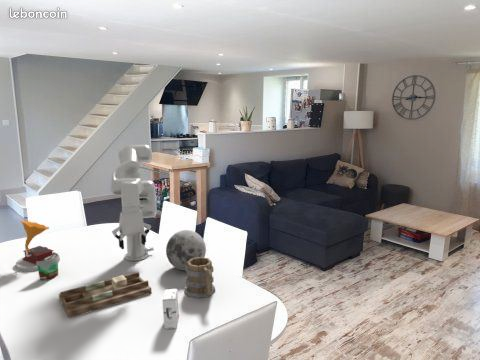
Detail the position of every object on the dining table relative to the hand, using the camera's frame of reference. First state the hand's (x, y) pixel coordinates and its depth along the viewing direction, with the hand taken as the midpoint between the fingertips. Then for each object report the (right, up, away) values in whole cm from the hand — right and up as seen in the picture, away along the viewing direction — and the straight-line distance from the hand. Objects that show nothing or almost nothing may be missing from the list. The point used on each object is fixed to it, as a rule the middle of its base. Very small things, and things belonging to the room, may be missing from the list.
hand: (132, 246), depth 165 cm
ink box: (+22, -25, -25) cm, 41 cm away
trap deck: (-10, -21, -5) cm, 24 cm away
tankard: (+32, -21, -3) cm, 38 cm away
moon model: (+21, -16, +24) cm, 35 cm away
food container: (-43, -17, +14) cm, 48 cm away
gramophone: (-59, -15, +30) cm, 67 cm away
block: (-5, -18, -2) cm, 19 cm away
